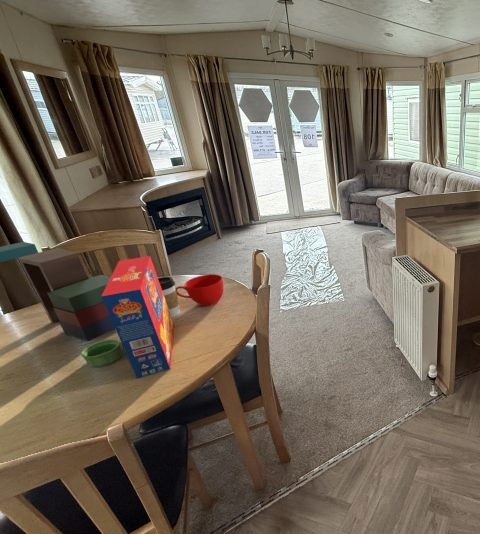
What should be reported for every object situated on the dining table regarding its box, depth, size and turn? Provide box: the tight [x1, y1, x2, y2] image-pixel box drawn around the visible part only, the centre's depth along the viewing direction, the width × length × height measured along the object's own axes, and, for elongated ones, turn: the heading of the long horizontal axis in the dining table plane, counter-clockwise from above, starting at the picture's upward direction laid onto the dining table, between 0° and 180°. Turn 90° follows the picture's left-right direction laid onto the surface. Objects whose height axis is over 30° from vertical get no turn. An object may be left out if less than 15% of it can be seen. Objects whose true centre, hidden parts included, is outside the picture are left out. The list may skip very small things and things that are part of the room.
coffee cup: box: [158, 276, 181, 319], centre depth 129 cm, size 8×8×15 cm
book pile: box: [47, 274, 116, 342], centre depth 121 cm, size 12×16×16 cm
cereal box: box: [101, 255, 175, 379], centre depth 107 cm, size 28×8×28 cm, turn 33°
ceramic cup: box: [175, 273, 225, 307], centre depth 139 cm, size 13×17×10 cm
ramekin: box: [80, 339, 123, 368], centre depth 107 cm, size 9×9×4 cm
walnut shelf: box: [17, 248, 89, 324], centre depth 123 cm, size 12×10×26 cm
